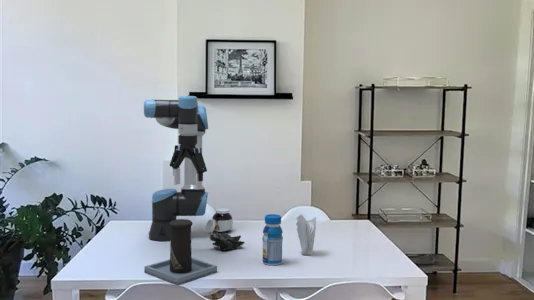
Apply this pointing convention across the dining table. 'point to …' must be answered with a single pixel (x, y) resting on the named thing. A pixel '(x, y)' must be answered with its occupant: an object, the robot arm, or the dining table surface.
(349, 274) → the dining table surface
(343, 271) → the dining table surface
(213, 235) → the mineral specimen
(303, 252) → the shell sculpture
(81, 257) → the dining table surface
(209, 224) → the spread jar
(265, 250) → the beverage bottle
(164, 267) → the tray
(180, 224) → the container
